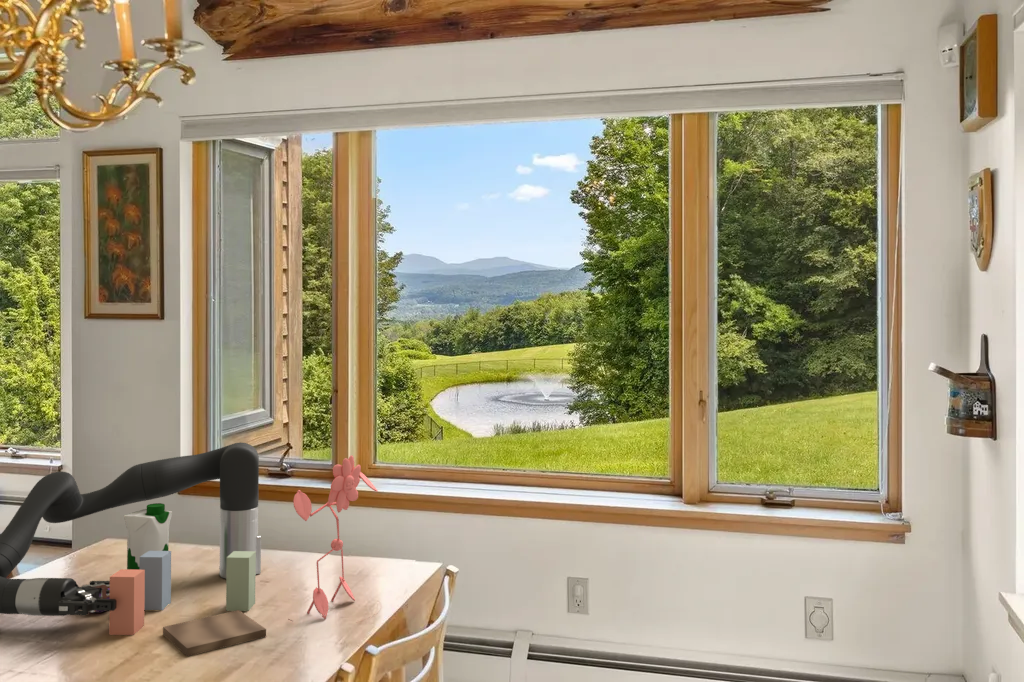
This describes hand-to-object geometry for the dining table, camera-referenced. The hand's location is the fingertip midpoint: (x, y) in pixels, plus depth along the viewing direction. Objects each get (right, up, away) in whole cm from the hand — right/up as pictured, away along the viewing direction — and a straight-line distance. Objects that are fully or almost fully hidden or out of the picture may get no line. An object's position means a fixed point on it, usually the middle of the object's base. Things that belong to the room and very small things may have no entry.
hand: (125, 597), depth 172 cm
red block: (0, -7, 0) cm, 7 cm away
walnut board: (+19, -7, -2) cm, 21 cm away
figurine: (+43, -7, +13) cm, 46 cm away
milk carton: (-8, -6, +28) cm, 29 cm away
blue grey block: (0, -6, +14) cm, 16 cm away
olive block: (+19, -7, +15) cm, 25 cm away
